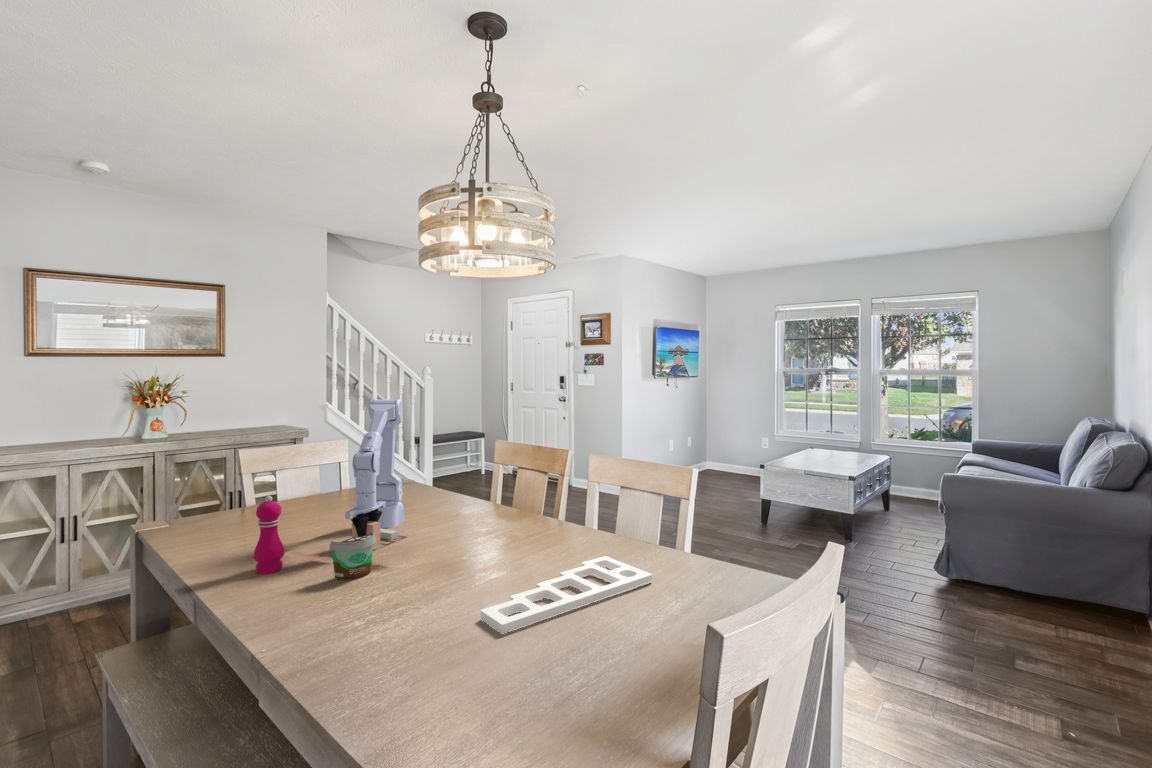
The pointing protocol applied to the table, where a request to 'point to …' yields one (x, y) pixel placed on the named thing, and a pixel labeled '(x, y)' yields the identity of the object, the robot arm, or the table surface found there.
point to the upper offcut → (388, 534)
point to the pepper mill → (268, 538)
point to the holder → (564, 600)
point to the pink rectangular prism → (370, 527)
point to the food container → (353, 557)
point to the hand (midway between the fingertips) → (366, 537)
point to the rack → (388, 543)
